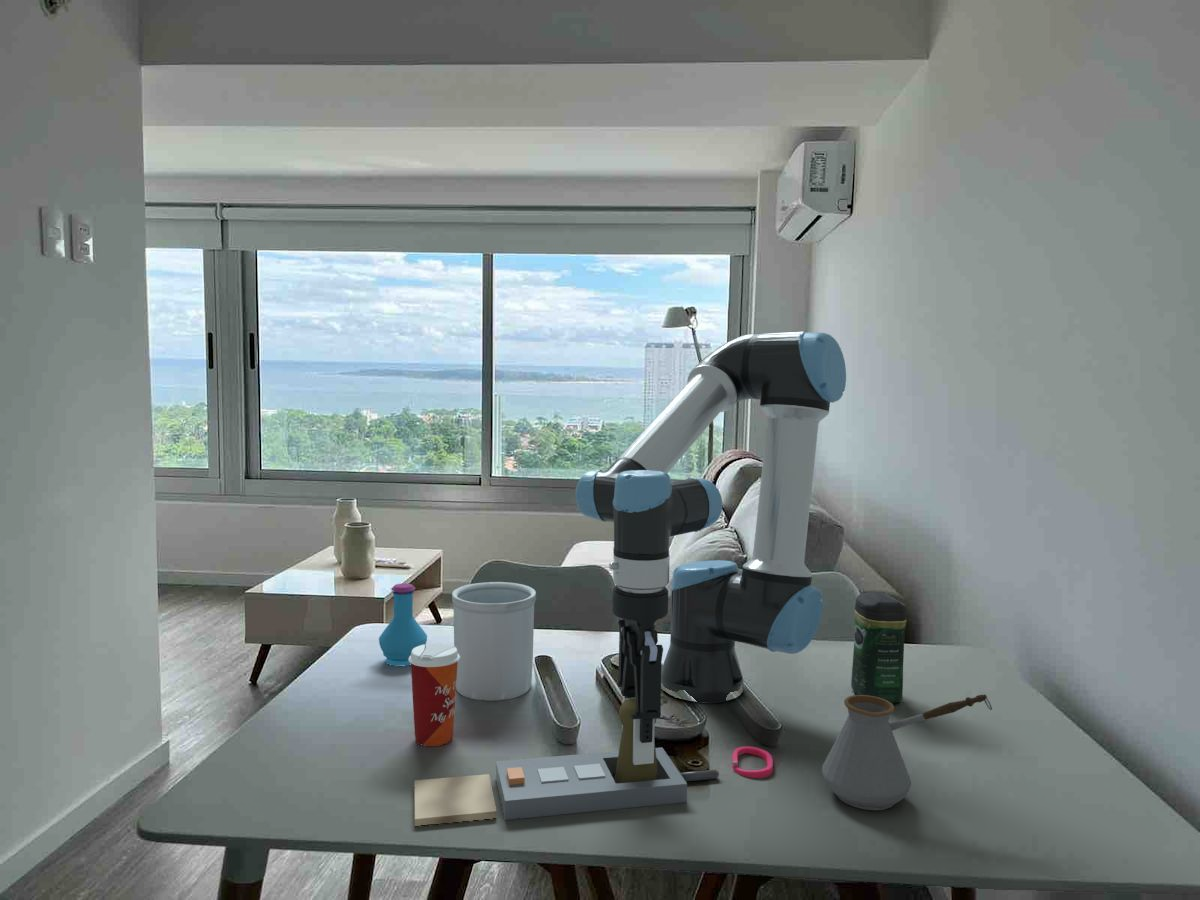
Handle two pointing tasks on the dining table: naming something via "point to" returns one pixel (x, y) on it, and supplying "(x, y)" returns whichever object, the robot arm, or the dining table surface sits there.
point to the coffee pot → (874, 752)
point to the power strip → (585, 785)
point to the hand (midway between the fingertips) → (637, 752)
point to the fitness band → (754, 751)
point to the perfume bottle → (402, 628)
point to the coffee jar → (878, 646)
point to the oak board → (454, 800)
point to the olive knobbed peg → (631, 751)
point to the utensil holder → (494, 639)
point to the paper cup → (434, 692)
